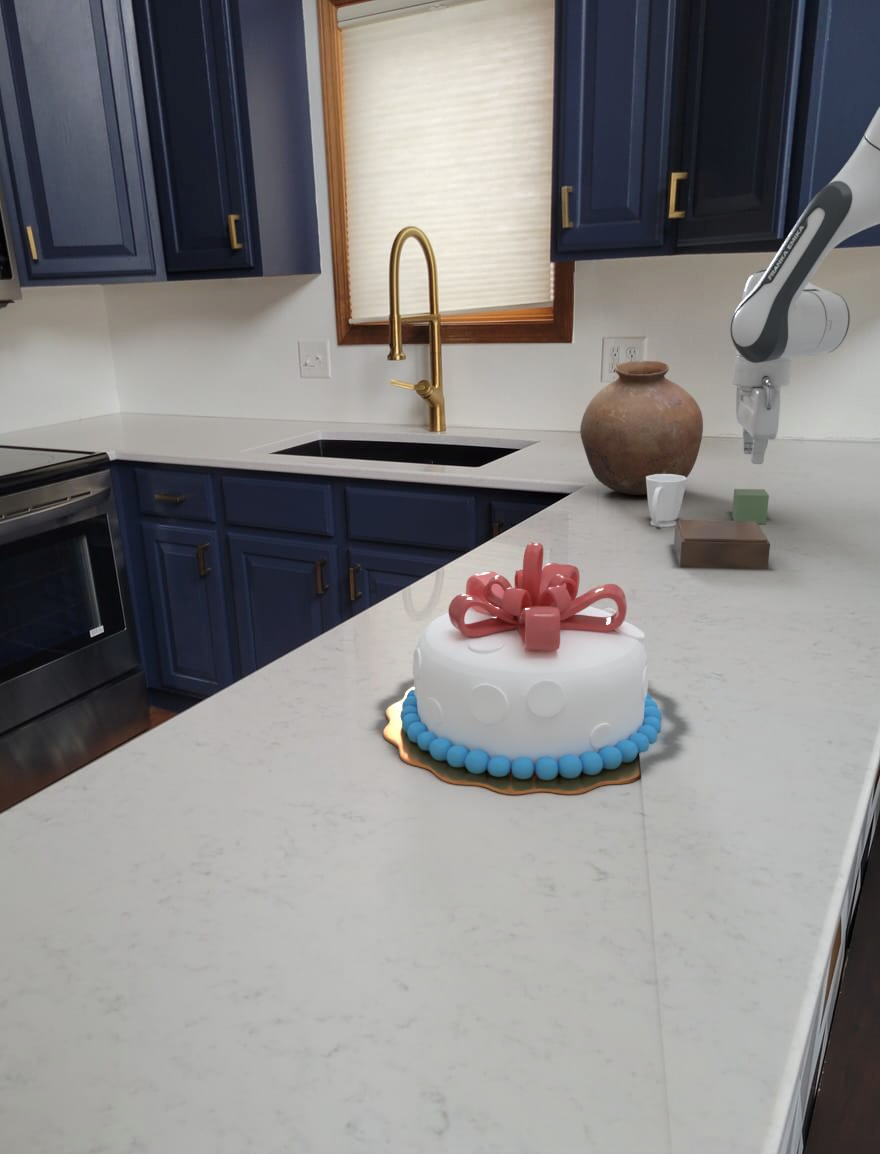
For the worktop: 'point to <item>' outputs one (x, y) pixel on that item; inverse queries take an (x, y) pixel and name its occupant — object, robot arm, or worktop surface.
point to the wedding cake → (528, 687)
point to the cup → (665, 498)
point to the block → (750, 505)
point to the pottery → (641, 428)
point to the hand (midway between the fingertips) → (752, 458)
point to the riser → (721, 544)
